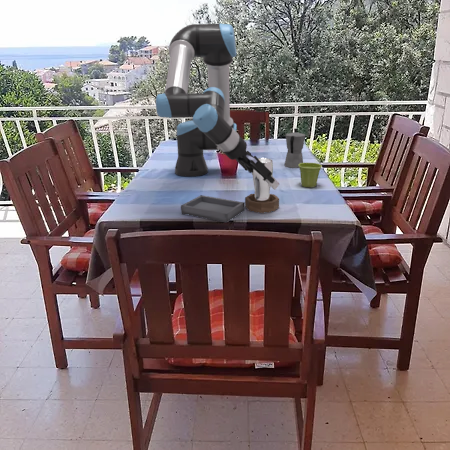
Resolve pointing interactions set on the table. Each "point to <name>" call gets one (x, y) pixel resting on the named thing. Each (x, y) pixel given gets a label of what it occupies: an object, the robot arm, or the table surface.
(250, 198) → the ring holder
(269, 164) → the beer glass
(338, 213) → the table surface
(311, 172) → the plant pot
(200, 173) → the robot arm
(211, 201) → the tray
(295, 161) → the coffeepot
